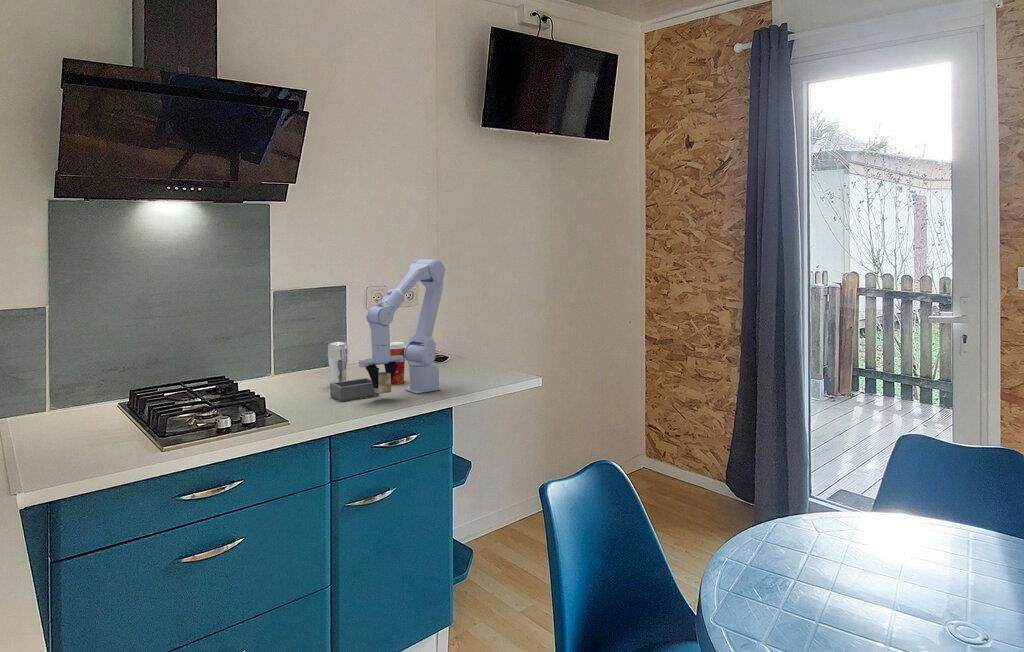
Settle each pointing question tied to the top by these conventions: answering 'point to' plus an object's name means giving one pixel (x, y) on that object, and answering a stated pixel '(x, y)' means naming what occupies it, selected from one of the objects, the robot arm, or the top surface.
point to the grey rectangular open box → (352, 389)
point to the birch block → (383, 383)
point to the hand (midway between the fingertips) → (382, 386)
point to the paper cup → (395, 350)
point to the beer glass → (338, 361)
